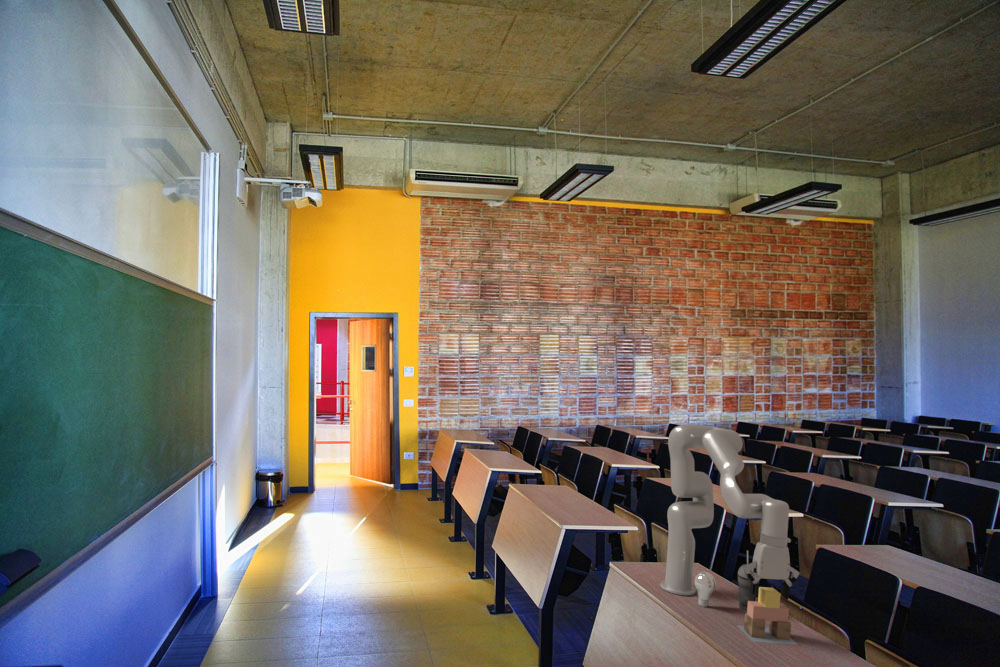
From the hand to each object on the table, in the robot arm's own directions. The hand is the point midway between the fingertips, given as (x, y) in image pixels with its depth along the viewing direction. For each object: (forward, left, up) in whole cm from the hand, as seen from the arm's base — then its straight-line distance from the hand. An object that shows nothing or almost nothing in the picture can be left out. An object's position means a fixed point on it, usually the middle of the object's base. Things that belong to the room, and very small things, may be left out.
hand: (769, 596), depth 187 cm
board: (0, 0, -12) cm, 12 cm away
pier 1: (0, -4, -12) cm, 12 cm away
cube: (0, 0, -2) cm, 2 cm away
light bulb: (-20, -12, -12) cm, 26 cm away
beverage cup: (-20, +3, -12) cm, 24 cm away
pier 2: (0, +4, -12) cm, 12 cm away
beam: (0, 0, -6) cm, 7 cm away
